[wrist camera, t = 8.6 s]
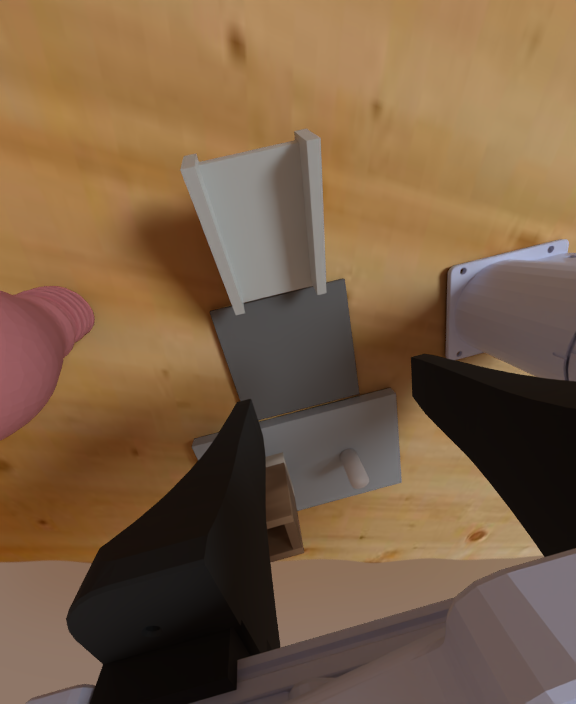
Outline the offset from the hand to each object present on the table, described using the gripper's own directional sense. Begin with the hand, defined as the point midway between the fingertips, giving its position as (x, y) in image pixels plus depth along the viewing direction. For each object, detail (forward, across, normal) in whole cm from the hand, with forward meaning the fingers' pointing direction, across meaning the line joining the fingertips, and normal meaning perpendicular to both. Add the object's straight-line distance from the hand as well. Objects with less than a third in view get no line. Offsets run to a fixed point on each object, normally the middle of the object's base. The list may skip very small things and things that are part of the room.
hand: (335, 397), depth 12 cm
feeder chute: (+10, +1, -7) cm, 12 cm away
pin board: (+10, +2, +13) cm, 16 cm away
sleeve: (+9, +6, +13) cm, 17 cm away
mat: (+10, +1, +2) cm, 10 cm away
